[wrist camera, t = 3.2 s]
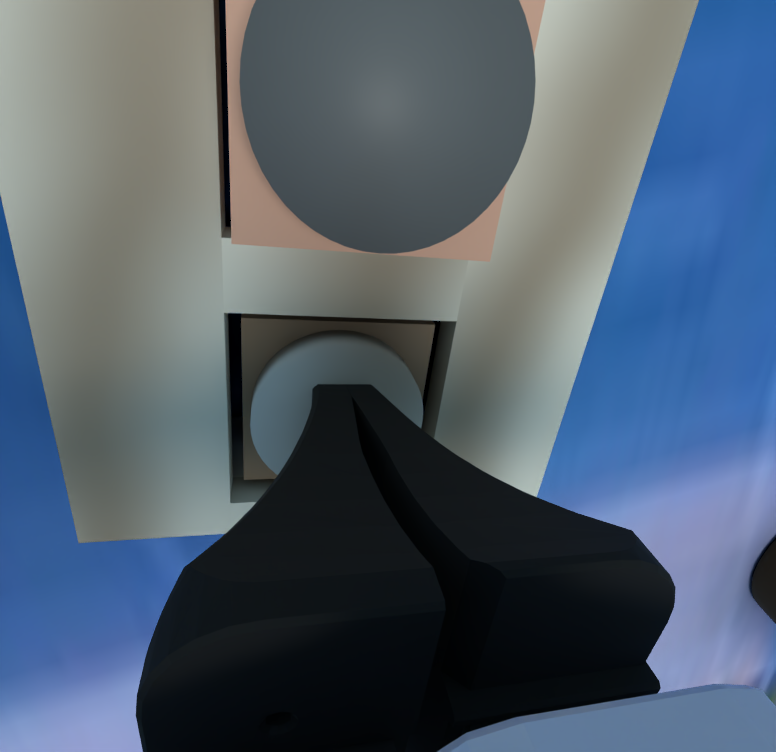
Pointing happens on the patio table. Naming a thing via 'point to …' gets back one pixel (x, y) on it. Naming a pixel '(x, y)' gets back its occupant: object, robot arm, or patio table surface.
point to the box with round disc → (321, 374)
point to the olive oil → (766, 582)
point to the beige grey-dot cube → (377, 122)
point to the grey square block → (288, 251)
